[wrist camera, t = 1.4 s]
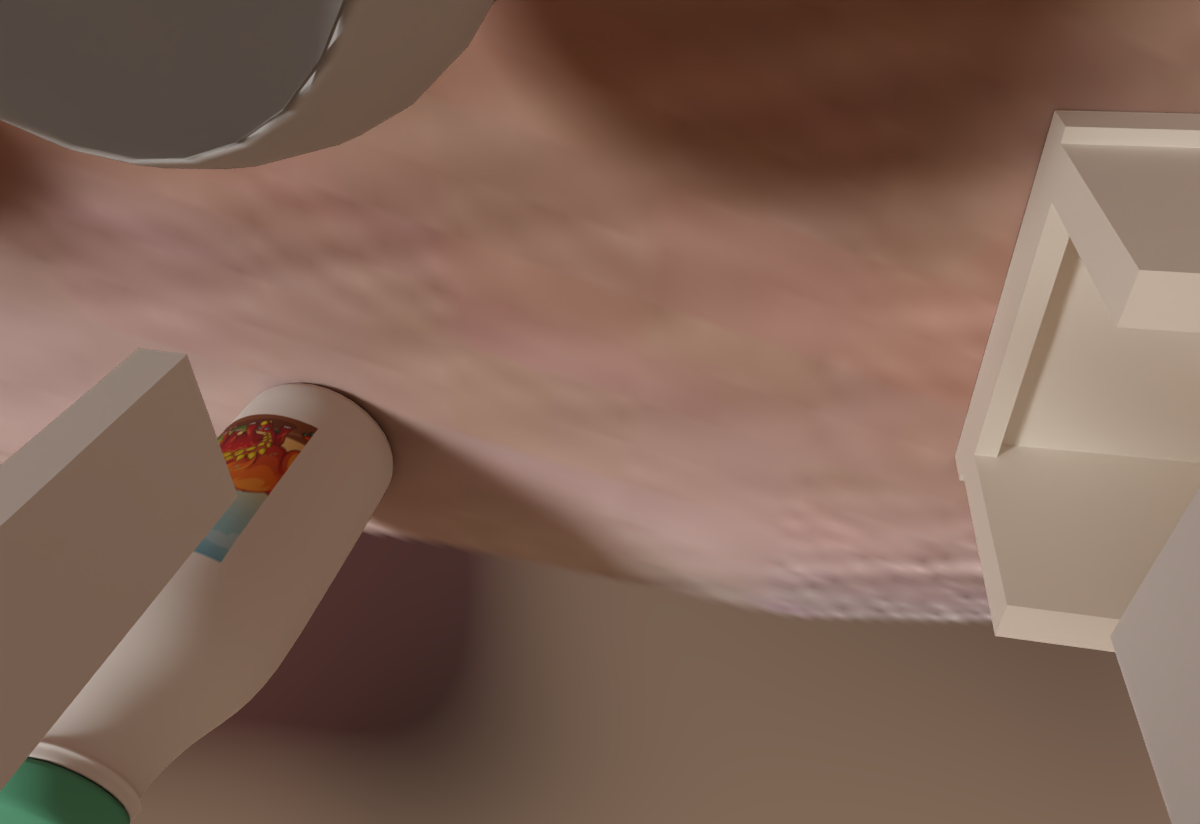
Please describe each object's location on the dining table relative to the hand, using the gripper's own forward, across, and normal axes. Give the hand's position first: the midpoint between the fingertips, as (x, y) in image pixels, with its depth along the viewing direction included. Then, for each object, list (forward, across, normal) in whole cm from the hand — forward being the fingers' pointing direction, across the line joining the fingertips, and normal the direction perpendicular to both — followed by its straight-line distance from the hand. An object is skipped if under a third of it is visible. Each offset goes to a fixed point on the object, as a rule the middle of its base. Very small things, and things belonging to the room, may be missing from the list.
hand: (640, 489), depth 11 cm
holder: (+20, +15, -7) cm, 26 cm away
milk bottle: (+20, -19, -19) cm, 33 cm away
